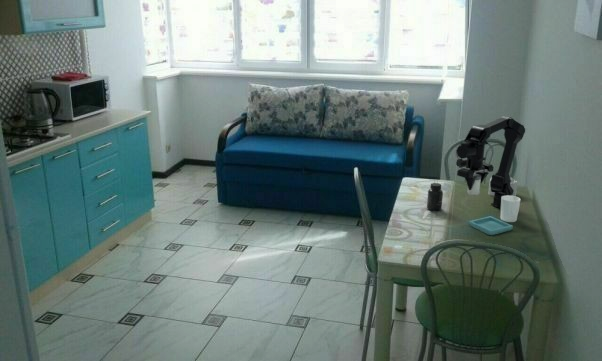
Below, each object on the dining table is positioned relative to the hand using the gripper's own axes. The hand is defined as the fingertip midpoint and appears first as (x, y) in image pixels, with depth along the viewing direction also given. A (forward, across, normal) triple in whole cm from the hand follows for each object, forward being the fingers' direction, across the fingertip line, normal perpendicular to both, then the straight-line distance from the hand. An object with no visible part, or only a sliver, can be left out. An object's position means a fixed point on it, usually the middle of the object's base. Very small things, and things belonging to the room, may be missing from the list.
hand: (473, 188), depth 247 cm
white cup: (+13, -8, +14) cm, 20 cm away
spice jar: (+2, 0, 0) cm, 2 cm away
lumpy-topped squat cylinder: (+13, -36, -8) cm, 40 cm away
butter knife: (+13, +22, -10) cm, 27 cm away
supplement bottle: (+13, +7, -16) cm, 21 cm away
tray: (+13, +6, +14) cm, 20 cm away
